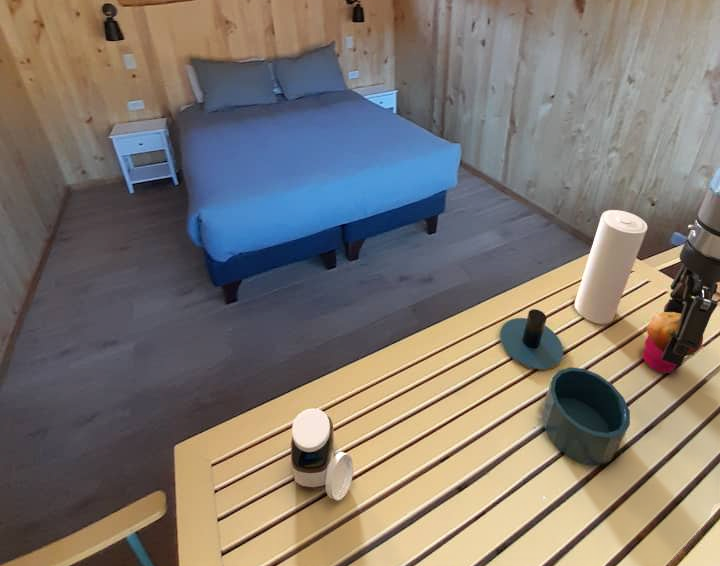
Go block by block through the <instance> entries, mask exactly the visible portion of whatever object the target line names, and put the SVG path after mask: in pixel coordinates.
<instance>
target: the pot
mask: <svg viewBox="0 0 720 566" xmlns="http://www.w3.org/2000/svg"><path fill="white" fill-rule="evenodd" d="M541 420H542V425H543V427H544V431H545V432H546V434H547V436H548V438H549V439H550V441H551V442H552V443H553V444H554V446H555V447H556V448H557V449H558V450H559V451H560V452H561V453H563V454H564V455H565V456H566V457H568V458H570V459H571V460H572V461H575V462H577V463H579V464H583V465H586V466H593V467H596V466H597V467H598V466H603V465H606V464H608V463H609V462H611V461H612V459H613V458H614V456H615V455H616V454H617V452H618V450H619V448H620V446H621V444H622V442H623V439H624V438H625V436H626V433H627V432H628V430H629V428H630V426H631V411H630V409H629V406H628V404H627V402H626V399H625V397H624V396H623V395H622V394H621V392H620V391H619V390H618V389H617V388H616V387H615V385H613V384H612V383H611V382H610V381H609V380H607V379H605V378H604V377H603V376H601V375H600V374H598V373H596V372H593V371H591V370H589V369H586V368H582V367H581V368H580V367H571V366H570V367H566V368H561V369H559V370H557V372H555V374H554V375H553V376H552V377H551V380H550V383H549V386H548V390H547V392H546V396H545V399H544V403H543V407H542V411H541Z"/></svg>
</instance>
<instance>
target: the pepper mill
mask: <svg viewBox="0 0 720 566" xmlns="http://www.w3.org/2000/svg"><path fill="white" fill-rule="evenodd" d="M683 303H684V304H685V302H683ZM666 306H667V303H665V305H664V307H663V311H664V310H665V308H666ZM644 346H645V347H644V349H643V352H642V359H643V361H644V362H645V364H646V365H648V367H650V368H651V369H653V370H654V371H656V372H659V373H662V374H671V373H673V372H674V371H675V369H676V367H677V365H675V364H672V363H670V362H667V361H664V360H662V354H663V352H662V351H661V350H660V349H659V348H657V347H656V346H655V345H654V344H653V343H652V341H651V339H650V337H649V335H648V336H647V337H646V339H645V342H644Z"/></svg>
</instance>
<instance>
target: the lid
mask: <svg viewBox="0 0 720 566" xmlns="http://www.w3.org/2000/svg"><path fill="white" fill-rule="evenodd" d="M547 319H548V317H547V316H546V313H544V312H543V311H541V310H540V309H535V308H534V309H530V310H529V311H528V314H527V318H525V317H517V318H511V319H509V320H507V321H506V322H505V323H504V324H503V325H502V326H501V328H500V331H499V339H500V340H499V341H500V344H501V346H502V348H503V350H504V351H505V352H506V354H507V355H508V356H509V357H510V358H511V359H512V360H513V361H515V362H516V363H518V364H520V365H522V366H523V367H526V368H529V369H532V370H538V371H546V370H547V371H548V370H551V369H554V368H555V367H557V366H558V365H560V363H561V362H562V359H563V356H564V347H563V344H562V342H561V340H560V338H559V336H557V335H556V333H555V332H554V331H553V330H552V329H551V328H550V327H548V326H546V323H547Z"/></svg>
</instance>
